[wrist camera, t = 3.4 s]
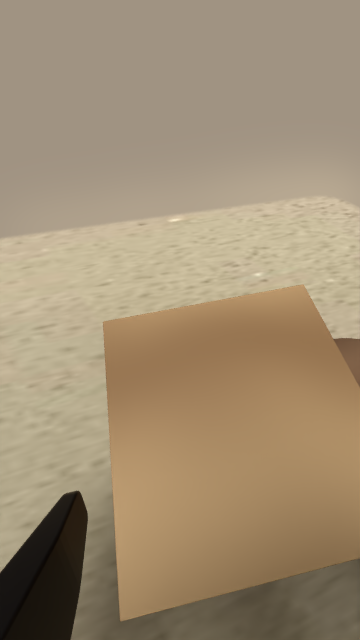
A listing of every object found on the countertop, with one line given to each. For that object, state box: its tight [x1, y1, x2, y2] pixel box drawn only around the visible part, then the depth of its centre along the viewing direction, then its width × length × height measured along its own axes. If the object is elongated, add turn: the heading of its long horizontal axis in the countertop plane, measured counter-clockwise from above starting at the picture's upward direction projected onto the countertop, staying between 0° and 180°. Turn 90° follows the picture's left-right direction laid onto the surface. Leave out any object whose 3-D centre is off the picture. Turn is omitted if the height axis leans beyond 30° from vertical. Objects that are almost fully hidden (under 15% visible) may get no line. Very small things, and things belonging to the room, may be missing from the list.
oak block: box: [103, 285, 360, 622], centre depth 11 cm, size 6×6×12 cm
